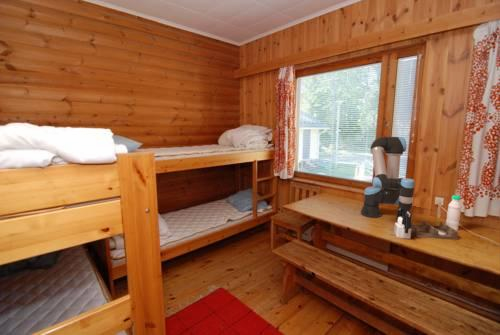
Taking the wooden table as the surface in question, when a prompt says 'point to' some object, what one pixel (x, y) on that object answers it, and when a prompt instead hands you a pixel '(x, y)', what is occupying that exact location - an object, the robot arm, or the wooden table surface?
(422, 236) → the rack
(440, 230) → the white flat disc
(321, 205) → the wooden table surface
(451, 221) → the water bottle
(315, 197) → the wooden table surface
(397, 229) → the container
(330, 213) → the wooden table surface
